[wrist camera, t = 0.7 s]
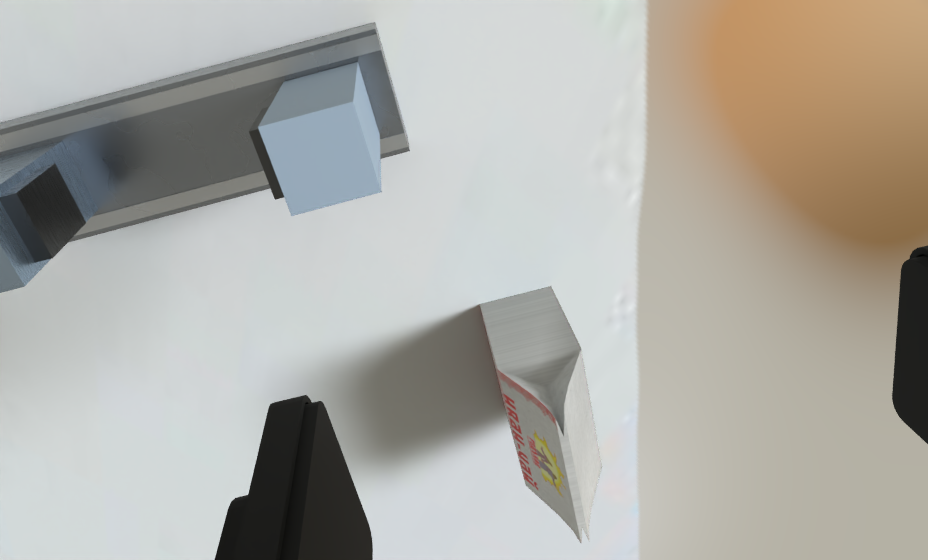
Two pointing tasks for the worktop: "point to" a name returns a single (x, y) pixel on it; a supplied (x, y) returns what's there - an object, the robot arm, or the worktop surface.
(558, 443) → the white drink carton
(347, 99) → the block
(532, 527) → the worktop surface
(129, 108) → the rail
